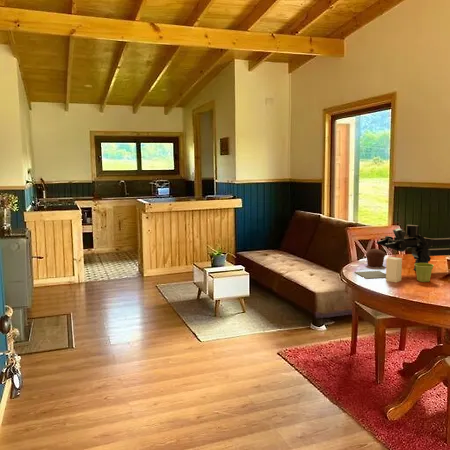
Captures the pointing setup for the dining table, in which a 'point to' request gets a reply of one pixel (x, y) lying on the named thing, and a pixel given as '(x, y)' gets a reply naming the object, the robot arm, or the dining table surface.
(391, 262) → the tall cream pillar
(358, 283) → the dining table surface
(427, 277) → the plant pot
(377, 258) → the muffin
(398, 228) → the robot arm
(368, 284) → the dining table surface
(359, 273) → the mat
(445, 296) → the dining table surface
